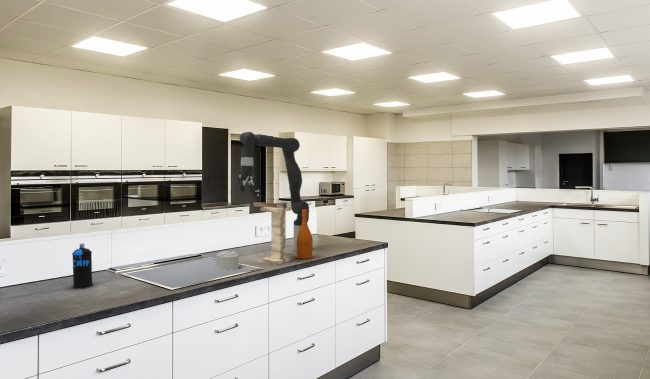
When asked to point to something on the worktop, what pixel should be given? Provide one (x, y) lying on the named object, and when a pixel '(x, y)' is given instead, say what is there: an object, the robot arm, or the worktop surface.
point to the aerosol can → (82, 267)
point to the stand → (277, 236)
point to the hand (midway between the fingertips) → (246, 191)
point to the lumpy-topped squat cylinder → (227, 260)
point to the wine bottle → (304, 239)
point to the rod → (270, 204)
